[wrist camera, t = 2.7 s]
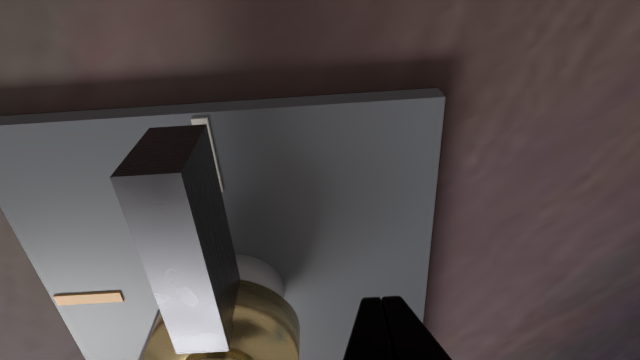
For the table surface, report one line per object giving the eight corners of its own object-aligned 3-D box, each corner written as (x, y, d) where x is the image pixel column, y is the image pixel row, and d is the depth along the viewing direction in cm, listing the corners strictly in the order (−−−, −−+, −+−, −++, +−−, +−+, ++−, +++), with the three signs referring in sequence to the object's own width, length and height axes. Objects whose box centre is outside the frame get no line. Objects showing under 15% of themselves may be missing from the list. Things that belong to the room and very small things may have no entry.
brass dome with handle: (273, 119, 13) (264, 167, 10) (305, 368, 19) (304, 435, 17) (82, 132, 13) (27, 181, 11) (177, 375, 20) (157, 442, 17)
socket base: (438, 87, 16) (484, 146, 12) (412, 374, 25) (433, 465, 21) (-26, 117, 16) (-146, 186, 12) (118, 390, 26) (80, 483, 21)
